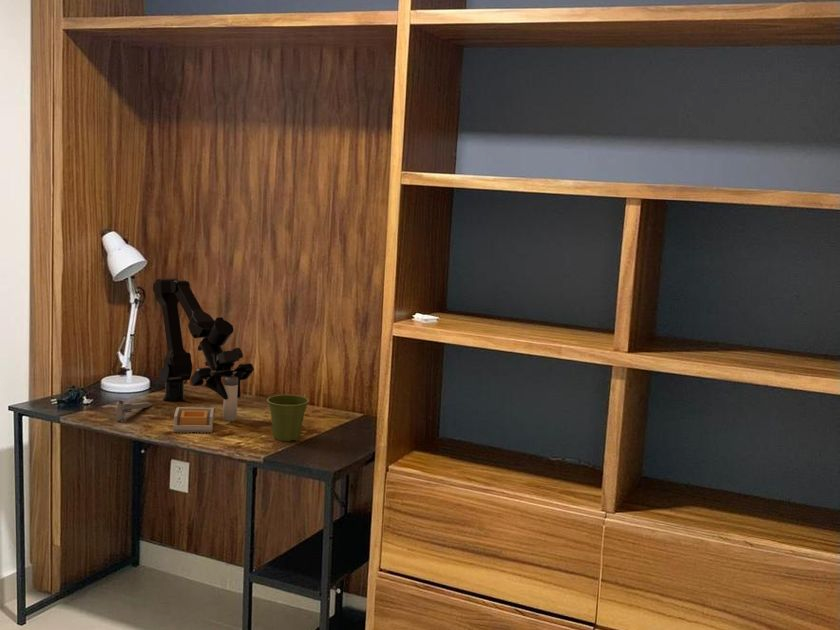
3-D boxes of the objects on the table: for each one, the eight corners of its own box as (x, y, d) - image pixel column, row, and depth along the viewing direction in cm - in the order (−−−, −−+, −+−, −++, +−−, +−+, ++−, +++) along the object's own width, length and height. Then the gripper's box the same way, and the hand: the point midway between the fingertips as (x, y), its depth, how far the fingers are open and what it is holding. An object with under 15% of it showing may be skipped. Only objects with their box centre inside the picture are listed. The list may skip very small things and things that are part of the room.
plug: (223, 416, 254) (224, 375, 252) (236, 416, 255) (238, 376, 253) (222, 420, 250) (224, 378, 248) (236, 420, 251) (238, 379, 249)
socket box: (176, 422, 250) (176, 407, 249) (213, 422, 252) (213, 407, 251) (173, 432, 239) (173, 417, 239) (212, 432, 242) (212, 417, 241)
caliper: (120, 422, 247) (120, 401, 246) (116, 422, 247) (116, 401, 246) (152, 406, 267) (152, 386, 266) (148, 405, 267) (149, 386, 266)
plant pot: (263, 432, 246) (265, 394, 244) (304, 432, 249) (306, 394, 247) (266, 444, 234) (268, 404, 233) (309, 444, 237) (311, 404, 236)
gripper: (197, 341, 245) (216, 386, 239) (252, 336, 258) (271, 379, 252) (182, 363, 252) (200, 407, 246) (236, 357, 265) (255, 399, 259)
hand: (233, 398), depth 250 cm, fingers closed on plug, 4 cm apart
